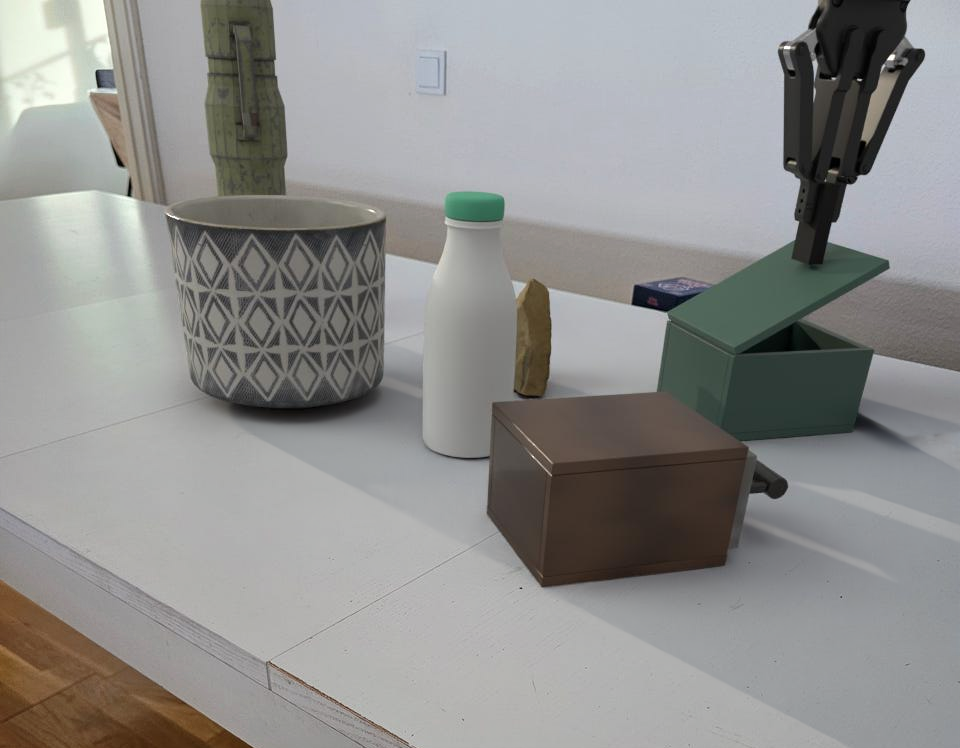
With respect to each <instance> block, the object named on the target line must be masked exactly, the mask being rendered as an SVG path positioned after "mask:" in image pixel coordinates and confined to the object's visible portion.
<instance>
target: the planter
mask: <svg viewBox="0 0 960 748" xmlns="http://www.w3.org/2000/svg"><path fill="white" fill-rule="evenodd" d="M164 214H165V215H164V216H165V222H166V227H167V233H168V234H167V235H168V240H169V241H168V242H169V248H170V254H171V261H172V267H173V274H174V280H175V281H174V282H175V285H176V286H175V287H176V292H177V300H178V307H179V312H180V319H181V325H182V332H183V338H184V339H183V340H184V346H185V352H186V359H187V365H188V372H189V376H190V380H191V381H192V383H193V385H194V386H195V387H196V388H197V389H198V390H200V391H201V392H203V393H204V394H206V395H207V396H210V397H212V398H215V399H217V400H221V401H224V402H228V403H232V404H238V405H245V406H252V407H258V408H265V409H272V410H302V409H303V410H304V409H313V408H317V407H322V406H326V405H327V406H328V405H333V404H337V403H338V404H339V403H343V402H347V401H350V400H353V399H357V398H359V397H362V396H364V395H366V394H368V393H370V392H372V391H373V390H375V389H376V388H377V387H379V385H380V384H381V382H382V380H383V377H384V374H385V319H386V318H385V315H386V314H385V313H386V309H385V308H386V248H387V247H386V245H387V242H386V241H387V239H386V238H387V214H386V212H385V211H384V210H383V209H381V208H379V207H376V206H374V205H371V204H367V203H362V202H358V201H354V200H353V201H352V200H346V199H339V198H330V197H322V196H321V197H319V196H306V195H305V196H304V195H287V194H286V195H234V196H218V195H217V196H207V197H200V198H193V199H191V198H190V199H186V200H182V201H177V202H175V203H172V204H170V205H168V206H166V208H165V209H164Z"/></svg>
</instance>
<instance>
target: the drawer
mask: <svg viewBox="0 0 960 748" xmlns="http://www.w3.org/2000/svg"><path fill="white" fill-rule="evenodd" d="M746 459H747V460H746V465H745V470H744V475H743V480H742V484H741V489H740V494H739V499H738V504H737V508H736V513H735V518H734V523H733V528H732V532H731V537H730V542H729V547H728V550H731V549H733V550H734V549H738V547H739V545H740V539H741V535H742V530H743V525H744V520H745V516H746V511H747V508H748V507H747V506H748V502H749V497H750V495H753V494H754V495H755V494H764V495H766V497H768V498H770V499H771V500H778V499H780V498H782V497H784V495H785V494H786V493H787V491H788V488H789V483H788V480H787V479H786V478H784V477H783V476H781V475H780V474H779V473H777V472H775V471H774V470H773V469H771V468H770V467H769V466H767V465H765V464H764V463H762V462H761V461H759V460H758V455H757V454H756V453H754V452H753V451H751V450H750V449H749V450H748V455H747V458H746Z"/></svg>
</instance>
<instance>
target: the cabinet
mask: <svg viewBox="0 0 960 748" xmlns="http://www.w3.org/2000/svg"><path fill="white" fill-rule="evenodd" d="M492 413H493V414H492V420H491V440H490V456H489V459H488V461H489V463H488V479H487V480H488V481H487V501H486V515H487V516H488V518H489V519H490V520H491V522H492V523H493V525H495V528H496V529H497V530H498V531H499V532H500V534H501V535H502V536H503V539H505V540H506V542H507V544H509V546H510V547H511V548H512V550H513V551H514V552H515V554H516V556H517V557H518V558H519V559H520V561H521V562H522V564H523V565H524V566H525V567H526V568H527V570H528V571H529V573H530V575H532V577H533V578H534V579H535V580H536V582H537V583H538V585H539V586H540V587H541V588H550V587H559V586H567V585H576V584H583V583H591V582H592V583H593V582H599V581H600V582H601V581H609V580H615V579H624V578H632V577H640V576H649V575H657V574H665V573H672V572H673V573H674V572H681V571H689V570H697V569H704V568H713V567H720V566H722V567H723V566H725V565H726V561H727V555H728V551H729V549H728V547H729V542H730V537H731V532H732V528H733V523H734V518H735V513H736V508H737V504H738V499H739V494H740V489H741V484H742V480H743V475H744V470H745V465H746V460H747V459H746V458H747V455H748V450H750V447H749V446H748V445H746V444H745V443H743V441H739V440H737V439H736V438H734V437H733V436H731V435H730V434H728V433H727V432H725V431H724V430H722V429H721V428H719V427H718V426H716V425H715V424H713V423H712V422H710V421H709V420H707V419H706V418H704V417H703V416H702V415H700V414H699V413H697V412H696V411H694V410H693V409H691V408H690V407H688V406H687V405H685V404H684V403H682V402H681V401H679V400H678V399H676V398H675V397H673V396H672V395H670V394H669V393H667V392H665V391H664V392H657V391H652V392H651V391H650V392H633V393H618V394H601V395H586V396H585V395H584V396H570V397H555V398H540V399H539V398H537V399H522V400H520V399H519V400H513V401H504V402H493V403H492Z"/></svg>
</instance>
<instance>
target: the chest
mask: <svg viewBox="0 0 960 748" xmlns="http://www.w3.org/2000/svg"><path fill="white" fill-rule="evenodd" d="M874 353H875V349H874V348H872V347H869V346H866V345H865V344H864V345H863V344H862V343H860V342H857V341H855V340H852V339H851V338H848V337H846V336H843V335H841V334H839V333H836V332H834V331H831V330H829V329H827V328H824V327H822V326H820V325H817V324H815V323H814V322H813V323H812V322H811V321H808V320H806V319H804V318H802V319H800V320H798V321H796V322H794V323H793V324H791V325H789V326H787V327H786V328H784V329H782V330H780V331H779V332H777V333H775V334H773V335H771V336H770V337H768V338H766V339H764V340H763V341H761V342H759V343H757V344H756V345H754V346H752V347H750V348H749V349H747V350H745V351H743V352H741V353H740V354H738V355H735V354H733V353H731V352H729V351H727V350H726V349H724V348H722V347H720V346H718V345H716V344H714V343H712V342H711V341H709V340H707V339H705V338H703V337H701V336H699V335H697V334H696V333H694V332H692V331H690V330H688V329H686V328H684V327H682V326H681V325H679V324H677V323H675V322H673V321H671V320H667V321H666V326H665V331H664V338H663V346H662V353H661V360H660V367H659V373H658V379H657V387H656V392H664V391H665V392H667V393H669V394H670V395H672V396H673V397H675V398H676V399H678V400H679V401H681V402H682V403H684V404H685V405H687V406H688V407H690V408H691V409H693V410H694V411H696V412H697V413H699V414H700V415H702V416H703V417H704V418H706V419H707V420H709V421H710V422H712V423H713V424H715V425H716V426H718V427H719V428H721V429H722V430H724V431H725V432H727V433H728V434H730V435H731V436H733V437H734V438H736V439H737V440H739V441H740V442H744V441H745V442H746V441H755V440H767V439H769V440H771V439H779V438H780V439H782V438H793V437H805V436H806V437H807V436H819V435H829V434H831V435H832V434H843V433H852V432H853V431H854V427H855V424H856V420H857V416H858V413H859V409H860V406H861V402H862V397H863V394H864V390H865V386H866V383H867V380H868V375H869V372H870V368H871V365H872V361H873V357H874Z"/></svg>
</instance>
